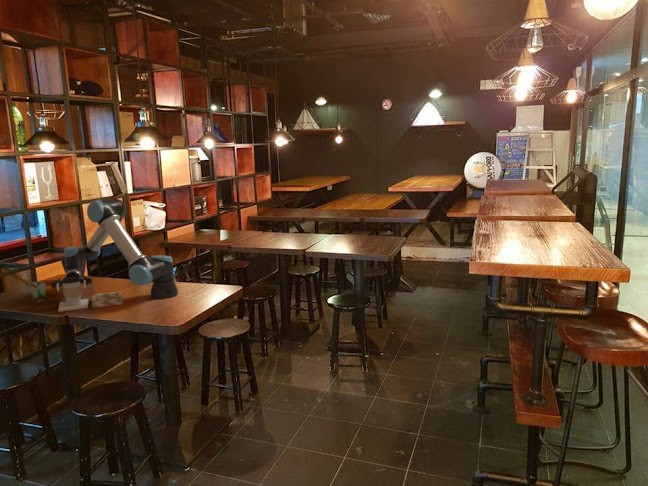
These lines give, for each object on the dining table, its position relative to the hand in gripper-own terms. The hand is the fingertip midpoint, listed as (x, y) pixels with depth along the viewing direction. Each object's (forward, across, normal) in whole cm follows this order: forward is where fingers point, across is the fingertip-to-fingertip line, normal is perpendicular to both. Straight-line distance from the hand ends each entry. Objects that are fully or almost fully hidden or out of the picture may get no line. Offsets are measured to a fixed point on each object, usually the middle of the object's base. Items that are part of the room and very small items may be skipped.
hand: (71, 287), depth 261 cm
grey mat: (-4, 0, -12) cm, 12 cm away
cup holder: (-3, -17, -12) cm, 20 cm away
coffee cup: (-4, 0, -11) cm, 11 cm away
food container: (-23, +17, -12) cm, 31 cm away
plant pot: (-60, +1, -12) cm, 61 cm away
